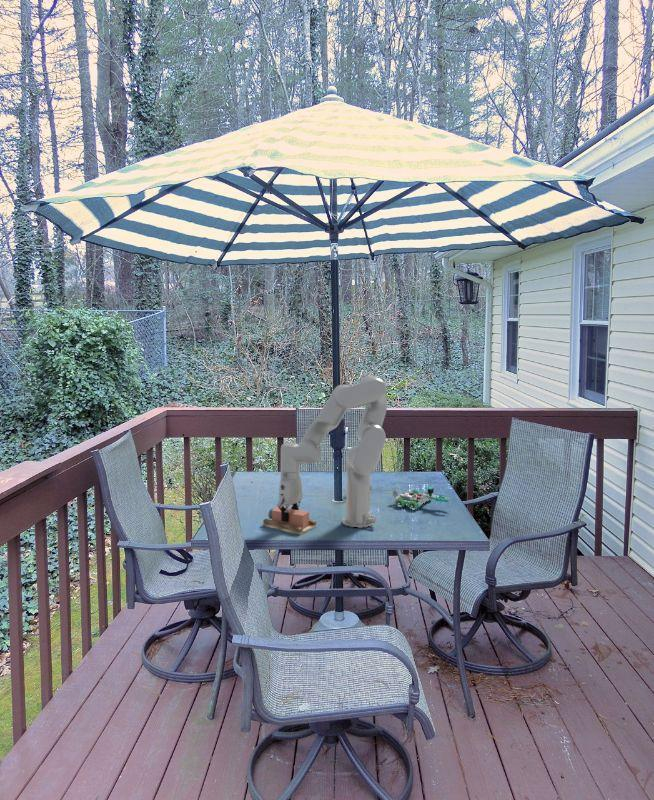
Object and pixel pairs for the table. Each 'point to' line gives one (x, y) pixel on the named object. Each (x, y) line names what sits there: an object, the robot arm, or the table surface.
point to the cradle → (289, 526)
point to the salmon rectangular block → (291, 517)
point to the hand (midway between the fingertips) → (290, 518)
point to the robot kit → (417, 498)
